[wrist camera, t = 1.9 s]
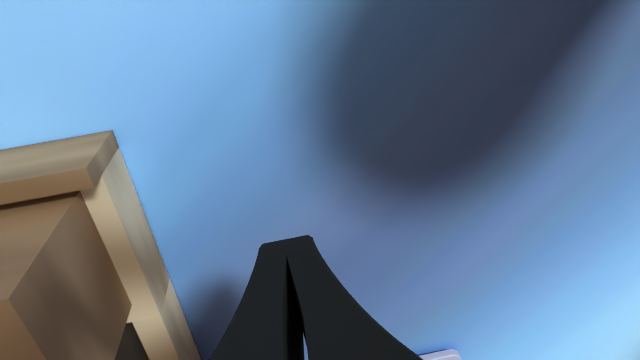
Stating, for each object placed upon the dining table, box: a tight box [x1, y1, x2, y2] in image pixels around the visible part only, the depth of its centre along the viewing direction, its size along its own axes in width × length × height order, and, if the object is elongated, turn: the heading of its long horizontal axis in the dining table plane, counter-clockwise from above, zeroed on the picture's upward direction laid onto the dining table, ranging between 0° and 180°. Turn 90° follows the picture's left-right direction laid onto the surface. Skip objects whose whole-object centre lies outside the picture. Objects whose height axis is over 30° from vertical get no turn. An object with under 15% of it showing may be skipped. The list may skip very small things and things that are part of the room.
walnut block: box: [0, 191, 132, 360], centre depth 12 cm, size 4×4×4 cm
